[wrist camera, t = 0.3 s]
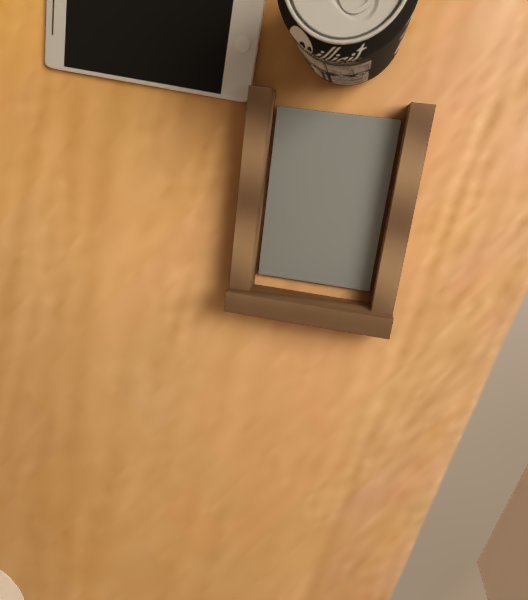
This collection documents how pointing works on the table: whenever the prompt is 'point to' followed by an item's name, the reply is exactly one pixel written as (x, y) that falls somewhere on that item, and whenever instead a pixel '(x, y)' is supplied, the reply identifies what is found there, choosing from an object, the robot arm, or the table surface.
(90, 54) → the smartphone
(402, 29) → the beverage can
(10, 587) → the bottle
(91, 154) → the table surface
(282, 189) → the grey rubber pad
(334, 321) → the walnut U-rest
